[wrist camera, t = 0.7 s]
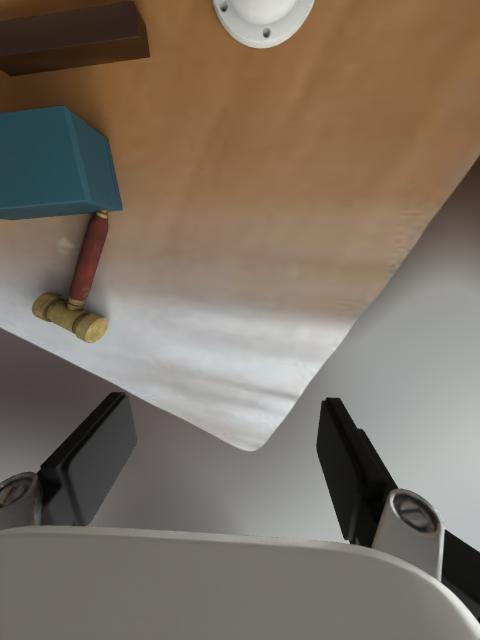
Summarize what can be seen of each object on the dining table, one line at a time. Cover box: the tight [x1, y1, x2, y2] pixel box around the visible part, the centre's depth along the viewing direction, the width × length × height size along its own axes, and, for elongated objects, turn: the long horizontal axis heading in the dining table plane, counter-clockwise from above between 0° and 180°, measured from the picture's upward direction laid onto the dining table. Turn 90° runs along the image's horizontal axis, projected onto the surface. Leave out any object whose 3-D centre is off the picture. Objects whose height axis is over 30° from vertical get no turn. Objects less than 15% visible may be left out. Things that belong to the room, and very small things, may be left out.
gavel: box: [32, 210, 108, 343], centre depth 36 cm, size 21×5×10 cm
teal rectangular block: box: [0, 105, 123, 220], centre depth 30 cm, size 9×18×8 cm, turn 94°
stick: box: [0, 1, 150, 76], centre depth 28 cm, size 3×19×3 cm, turn 94°
